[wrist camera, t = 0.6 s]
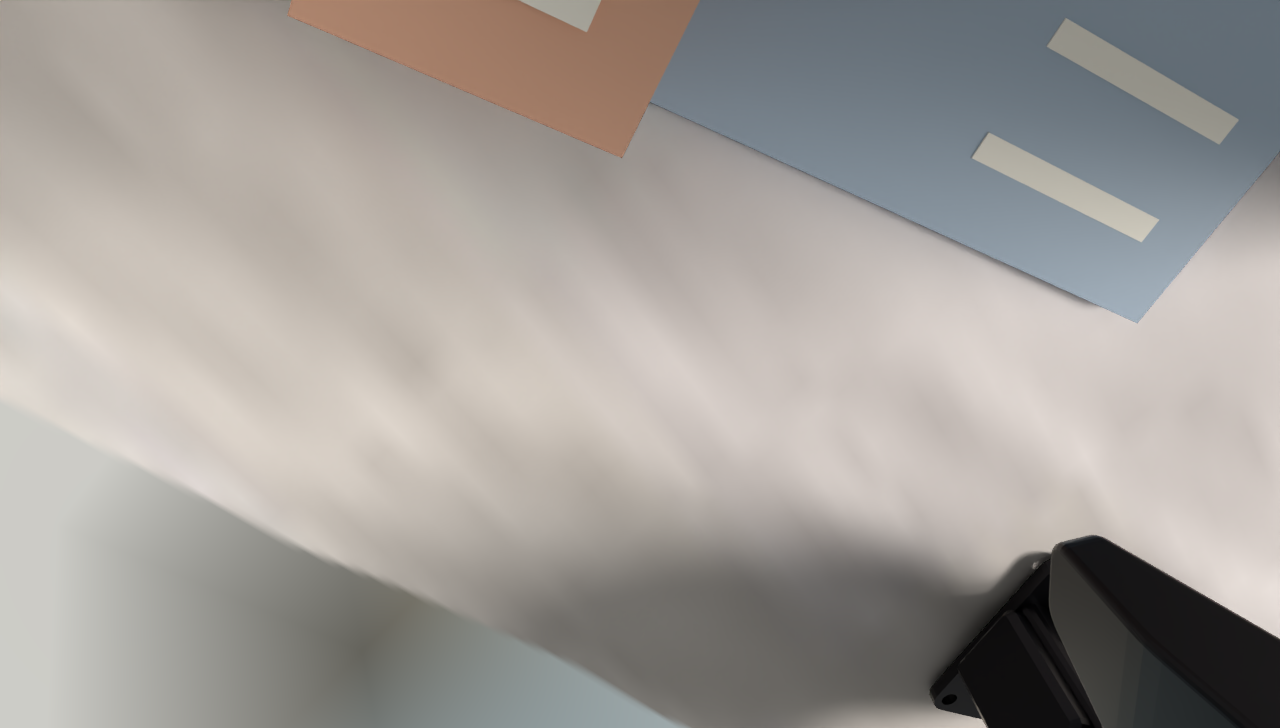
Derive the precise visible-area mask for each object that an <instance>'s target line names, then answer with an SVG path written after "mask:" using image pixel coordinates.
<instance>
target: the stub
mask: <svg viewBox="0 0 1280 728" xmlns="http://www.w3.org/2000/svg"><path fill="white" fill-rule="evenodd" d="M699 1H700V0H292V1H291V5H290V8H289V11H288V15H287V16H290V17H292V18H294V19H297V20H299V21H301V22H304V23H306V24H308V25H311V26H313V27H315V28H318V29H320V30H323V31H325V32H327V33H330V34H332V35H334V36H337V37H339V38H341V39H344V40H346V41H348V42H351V43H353V44H355V45H358V46H360V47H362V48H365V49H367V50H369V51H372V52H374V53H376V54H379V55H381V56H384V57H386V58H388V59H391V60H393V61H395V62H398V63H400V64H402V65H405V66H407V67H409V68H412V69H414V70H416V71H419V72H421V73H423V74H426V75H428V76H430V77H433V78H435V79H438V80H440V81H442V82H445V83H447V84H449V85H452V86H454V87H456V88H459V89H461V90H463V91H466V92H468V93H470V94H473V95H475V96H477V97H480V98H482V99H484V100H487V101H489V102H491V103H494V104H496V105H499V106H501V107H503V108H506V109H508V110H510V111H513V112H515V113H517V114H520V115H522V116H524V117H527V118H529V119H531V120H534V121H536V122H538V123H541V124H543V125H545V126H548V127H550V128H553V129H555V130H557V131H560V132H562V133H564V134H567V135H569V136H571V137H574V138H576V139H578V140H581V141H583V142H585V143H588V144H590V145H592V146H595V147H597V148H599V149H602V150H604V151H606V152H609V153H611V154H614V155H616V156H618V157H621V158H622V157H623V155H624V153H625V151H626V149H627V147H628V145H629V143H630V141H631V139H632V137H633V135H634V133H635V131H636V129H637V127H638V125H639V123H640V121H641V118H642V116H643V114H644V112H645V110H646V108H647V106H648V104H649V102H650V100H651V98H652V96H653V94H654V92H655V90H656V88H657V86H658V84H659V82H660V80H661V78H662V76H663V74H664V72H665V70H666V68H667V66H668V64H669V62H670V60H671V58H672V56H673V54H674V52H675V50H676V48H677V46H678V44H679V42H680V40H681V38H682V36H683V34H684V32H685V30H686V27H687V25H688V23H689V21H690V19H691V17H692V15H693V13H694V11H695V9H696V7H697V5H698V3H699Z"/></svg>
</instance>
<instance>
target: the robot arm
mask: <svg viewBox="0 0 1280 728" xmlns="http://www.w3.org/2000/svg"><path fill="white" fill-rule="evenodd" d="M929 694H930V696H931V698H932V701H933V703H934V705H935V706H936V708H938V709H941V710H945V711H949V712H953V713H958V714H962V715H966V716H971V717H975V718H979V719H982V720H983V721H984V723H985V725H986V727H987V728H1280V639H1279V638H1278V637H1276V636H1274V635H1272V634H1271V633H1269V632H1267V631H1265V630H1264V629H1262V628H1260V627H1258V626H1257V625H1255V624H1253V623H1252V622H1250V621H1248V620H1246V619H1245V618H1243V617H1241V616H1239V615H1238V614H1236V613H1234V612H1232V611H1231V610H1229V609H1227V608H1225V607H1224V606H1222V605H1220V604H1219V603H1217V602H1215V601H1213V600H1212V599H1210V598H1208V597H1206V596H1205V595H1203V594H1201V593H1199V592H1198V591H1196V590H1194V589H1192V588H1191V587H1189V586H1187V585H1186V584H1184V583H1182V582H1180V581H1179V580H1177V579H1175V578H1173V577H1172V576H1170V575H1168V574H1166V573H1165V572H1163V571H1161V570H1160V569H1158V568H1156V567H1154V566H1153V565H1151V564H1149V563H1147V562H1146V561H1144V560H1142V559H1140V558H1139V557H1137V556H1135V555H1133V554H1132V553H1130V552H1128V551H1127V550H1125V549H1123V548H1121V547H1120V546H1118V545H1116V544H1114V543H1113V542H1111V541H1109V540H1107V539H1105V538H1103V537H1100V536H1097V535H1089V536H1084V537H1080V538H1076V539H1072V540H1068V541H1064V542H1060V543H1058V544H1056V545H1055V546H1054V548H1053V550H1052V554H1051V559H1050V560H1048V561H1046V562H1044V563H1043V564H1042V565H1041V566H1040V567H1039V568H1038V569H1037V570H1036V571H1035V572H1034V573H1033V575H1032V576H1031V577H1030V578H1029V579H1028V580H1027V581H1026V582H1025V583H1024V585H1023V586H1022V587H1021V588H1020V589H1019V590H1018V591H1017V592H1016V593H1015V595H1014V596H1013V597H1012V598H1011V599H1010V600H1009V601H1008V602H1007V603H1006V605H1005V606H1004V607H1003V608H1002V609H1001V610H1000V611H999V612H998V613H997V615H996V616H995V617H994V618H993V619H992V620H991V621H990V622H989V623H988V625H987V626H986V627H985V628H984V629H983V630H982V631H981V632H980V634H979V635H978V636H977V637H976V638H975V639H974V640H973V641H972V642H971V644H970V645H969V646H968V647H967V648H966V649H965V650H964V651H963V652H962V654H961V655H960V656H959V657H958V658H957V659H956V660H955V661H954V662H953V664H952V665H951V666H950V667H949V668H948V669H947V670H946V671H945V672H944V674H943V675H942V676H941V677H940V678H939V679H938V680H937V681H936V682H935V684H934V685H933V686H932V687H931V689H930V693H929Z"/></svg>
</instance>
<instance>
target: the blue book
mask: <svg viewBox="0 0 1280 728" xmlns="http://www.w3.org/2000/svg"><path fill="white" fill-rule="evenodd" d="M650 102H651V103H653V104H655V105H657V106H660V107H662V108H664V109H666V110H668V111H671V112H673V113H675V114H677V115H679V116H682V117H684V118H686V119H688V120H690V121H693V122H695V123H697V124H699V125H702V126H704V127H706V128H708V129H710V130H713V131H715V132H717V133H719V134H721V135H724V136H726V137H728V138H730V139H732V140H735V141H737V142H739V143H741V144H743V145H746V146H748V147H750V148H752V149H754V150H757V151H759V152H761V153H763V154H765V155H768V156H770V157H772V158H774V159H776V160H779V161H781V162H783V163H785V164H787V165H790V166H792V167H794V168H796V169H798V170H801V171H803V172H805V173H807V174H809V175H812V176H814V177H816V178H818V179H821V180H823V181H825V182H827V183H829V184H832V185H834V186H836V187H838V188H840V189H843V190H845V191H847V192H849V193H851V194H854V195H856V196H858V197H860V198H862V199H865V200H867V201H869V202H871V203H873V204H876V205H878V206H880V207H882V208H884V209H887V210H889V211H891V212H893V213H895V214H898V215H900V216H902V217H904V218H906V219H909V220H911V221H913V222H915V223H917V224H920V225H922V226H924V227H926V228H928V229H931V230H933V231H935V232H937V233H939V234H942V235H944V236H946V237H948V238H951V239H953V240H955V241H957V242H959V243H962V244H964V245H966V246H968V247H970V248H973V249H975V250H977V251H979V252H981V253H984V254H986V255H988V256H990V257H992V258H995V259H997V260H999V261H1001V262H1003V263H1006V264H1008V265H1010V266H1012V267H1014V268H1017V269H1019V270H1021V271H1023V272H1025V273H1028V274H1030V275H1032V276H1034V277H1036V278H1039V279H1041V280H1043V281H1045V282H1047V283H1050V284H1052V285H1054V286H1056V287H1058V288H1061V289H1063V290H1065V291H1067V292H1070V293H1072V294H1074V295H1076V296H1078V297H1081V298H1083V299H1085V300H1087V301H1089V302H1092V303H1094V304H1096V305H1098V306H1100V307H1103V308H1105V309H1107V310H1109V311H1111V312H1114V313H1116V314H1118V315H1120V316H1122V317H1125V318H1127V319H1129V320H1131V321H1133V322H1136V323H1138V322H1139V321H1140V319H1141V318H1142V317H1143V316H1144V315H1145V313H1146V312H1147V311H1148V310H1149V309H1150V307H1151V306H1152V305H1153V304H1154V303H1155V301H1156V300H1157V299H1158V298H1159V296H1160V295H1161V294H1162V293H1163V292H1164V290H1165V289H1166V288H1167V287H1168V286H1169V284H1170V283H1171V282H1172V281H1173V280H1174V278H1175V277H1176V276H1177V275H1178V274H1179V272H1180V271H1181V270H1182V269H1183V268H1184V266H1185V265H1186V264H1187V263H1188V262H1189V260H1190V259H1191V258H1192V257H1193V256H1194V254H1195V253H1196V252H1197V251H1198V250H1199V248H1200V247H1201V246H1202V245H1203V244H1204V242H1205V241H1206V240H1207V239H1208V237H1209V236H1210V235H1211V234H1212V233H1213V231H1214V230H1215V229H1216V228H1217V227H1218V225H1219V224H1220V223H1221V222H1222V221H1223V219H1224V218H1225V217H1226V216H1227V215H1228V213H1229V212H1230V211H1231V210H1232V209H1233V207H1234V206H1235V205H1236V204H1237V203H1238V201H1239V200H1240V199H1241V198H1242V197H1243V195H1244V194H1245V193H1246V192H1247V191H1248V189H1249V188H1250V187H1251V186H1252V184H1253V183H1254V182H1255V181H1256V180H1257V178H1258V177H1259V176H1260V175H1261V174H1262V172H1263V171H1264V170H1265V169H1266V168H1267V166H1268V165H1269V164H1270V163H1271V162H1272V160H1273V159H1274V158H1275V157H1276V156H1277V154H1278V153H1279V152H1280V0H700V1H699V3H698V5H697V7H696V9H695V11H694V13H693V15H692V17H691V19H690V21H689V23H688V25H687V27H686V30H685V32H684V34H683V36H682V38H681V40H680V42H679V44H678V46H677V48H676V50H675V52H674V54H673V56H672V58H671V60H670V62H669V64H668V66H667V68H666V70H665V72H664V74H663V76H662V78H661V80H660V82H659V84H658V86H657V88H656V90H655V92H654V94H653V96H652V98H651V100H650Z"/></svg>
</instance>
